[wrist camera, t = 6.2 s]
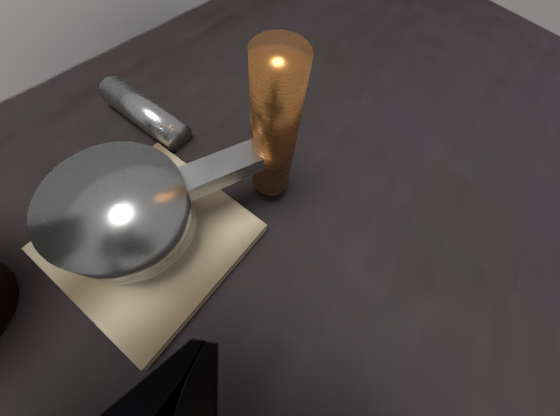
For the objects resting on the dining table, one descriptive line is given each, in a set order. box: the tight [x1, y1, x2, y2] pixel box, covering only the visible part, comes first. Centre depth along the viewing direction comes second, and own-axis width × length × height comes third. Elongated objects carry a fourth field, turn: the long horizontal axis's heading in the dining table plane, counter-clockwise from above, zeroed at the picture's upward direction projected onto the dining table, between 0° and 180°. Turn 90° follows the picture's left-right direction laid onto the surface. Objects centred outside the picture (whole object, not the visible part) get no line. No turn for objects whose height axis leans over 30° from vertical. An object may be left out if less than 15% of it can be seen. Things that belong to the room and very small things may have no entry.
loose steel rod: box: [99, 76, 191, 152], centre depth 22 cm, size 8×2×2 cm
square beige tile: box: [21, 142, 267, 371], centre depth 17 cm, size 11×11×3 cm
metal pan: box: [27, 29, 313, 285], centre depth 14 cm, size 14×7×10 cm, turn 119°
